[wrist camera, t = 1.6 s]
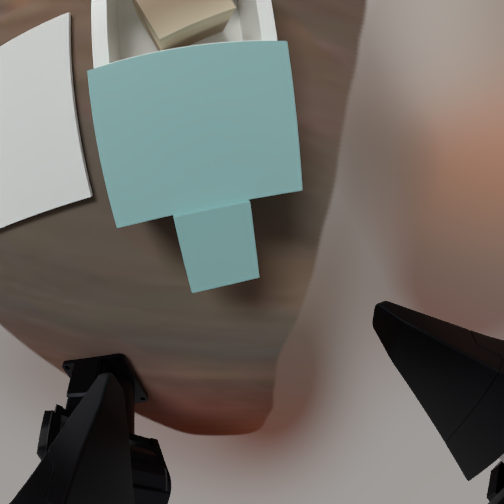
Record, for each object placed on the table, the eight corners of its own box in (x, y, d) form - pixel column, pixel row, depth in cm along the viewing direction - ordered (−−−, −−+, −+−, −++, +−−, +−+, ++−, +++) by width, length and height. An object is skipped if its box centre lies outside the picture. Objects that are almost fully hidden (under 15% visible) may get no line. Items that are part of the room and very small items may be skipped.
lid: (297, 253, 17) (308, 265, 15) (142, 287, 15) (140, 304, 14) (278, 46, 11) (290, 38, 10) (94, 75, 10) (84, 69, 8)
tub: (269, 173, 18) (293, 185, 15) (132, 200, 17) (121, 220, 13) (243, -28, 12) (260, -57, 8) (106, -10, 10) (93, -36, 7)
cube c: (222, 31, 13) (236, 7, 10) (162, 58, 13) (159, 39, 10) (195, -13, 11) (201, -43, 8) (136, 13, 11) (127, -14, 8)
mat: (92, 195, 16) (91, 196, 15) (-27, 238, 14) (-30, 240, 13) (70, 13, 10) (69, 12, 10) (-52, 86, 8) (-55, 86, 8)
